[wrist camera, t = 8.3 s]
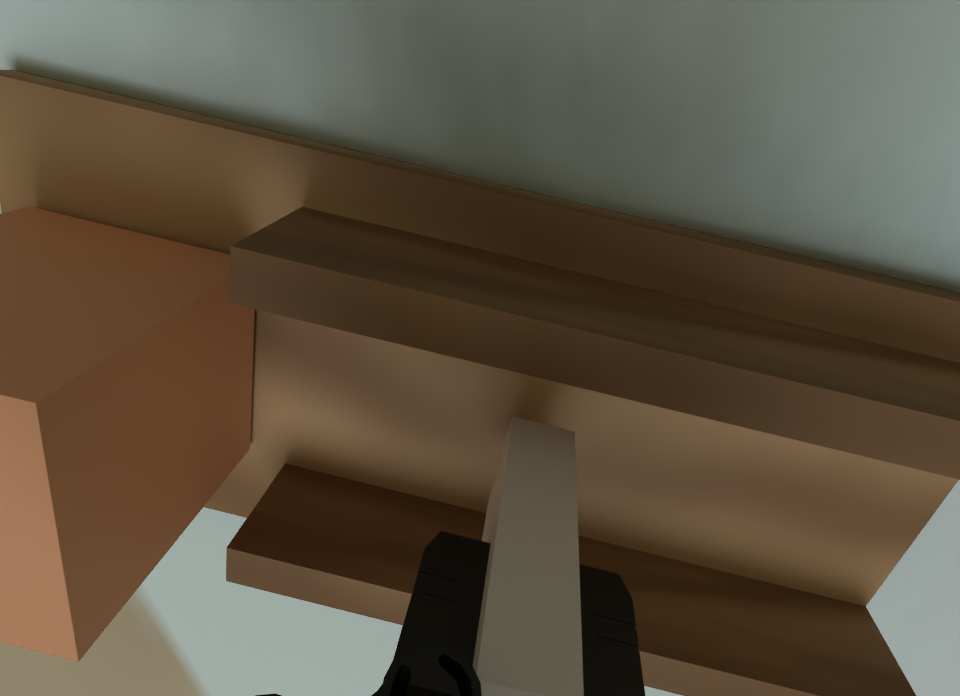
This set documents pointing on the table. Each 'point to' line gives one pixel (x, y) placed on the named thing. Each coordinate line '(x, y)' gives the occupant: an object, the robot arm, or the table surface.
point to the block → (107, 415)
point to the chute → (538, 385)
